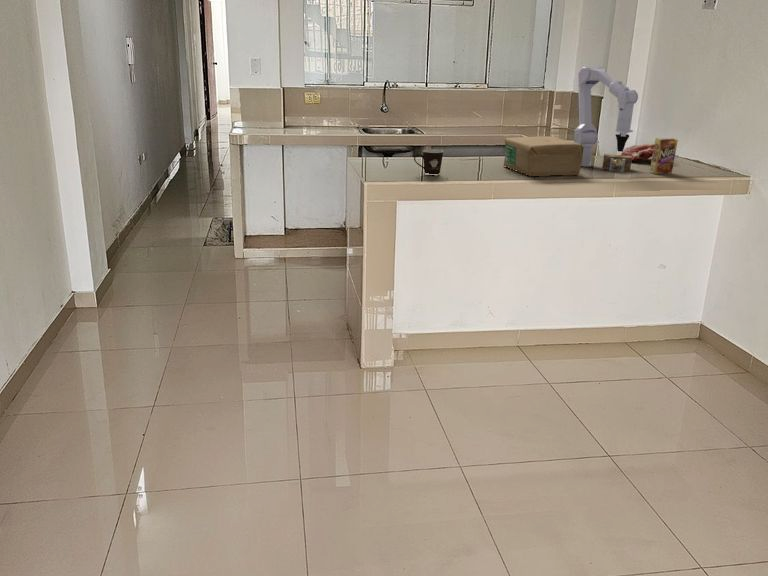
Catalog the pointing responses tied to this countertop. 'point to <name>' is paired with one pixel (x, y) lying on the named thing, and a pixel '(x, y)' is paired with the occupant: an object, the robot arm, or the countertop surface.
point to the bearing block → (608, 157)
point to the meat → (639, 151)
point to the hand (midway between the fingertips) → (620, 151)
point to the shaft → (617, 164)
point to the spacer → (616, 170)
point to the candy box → (663, 156)
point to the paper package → (543, 156)
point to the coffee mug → (431, 161)
